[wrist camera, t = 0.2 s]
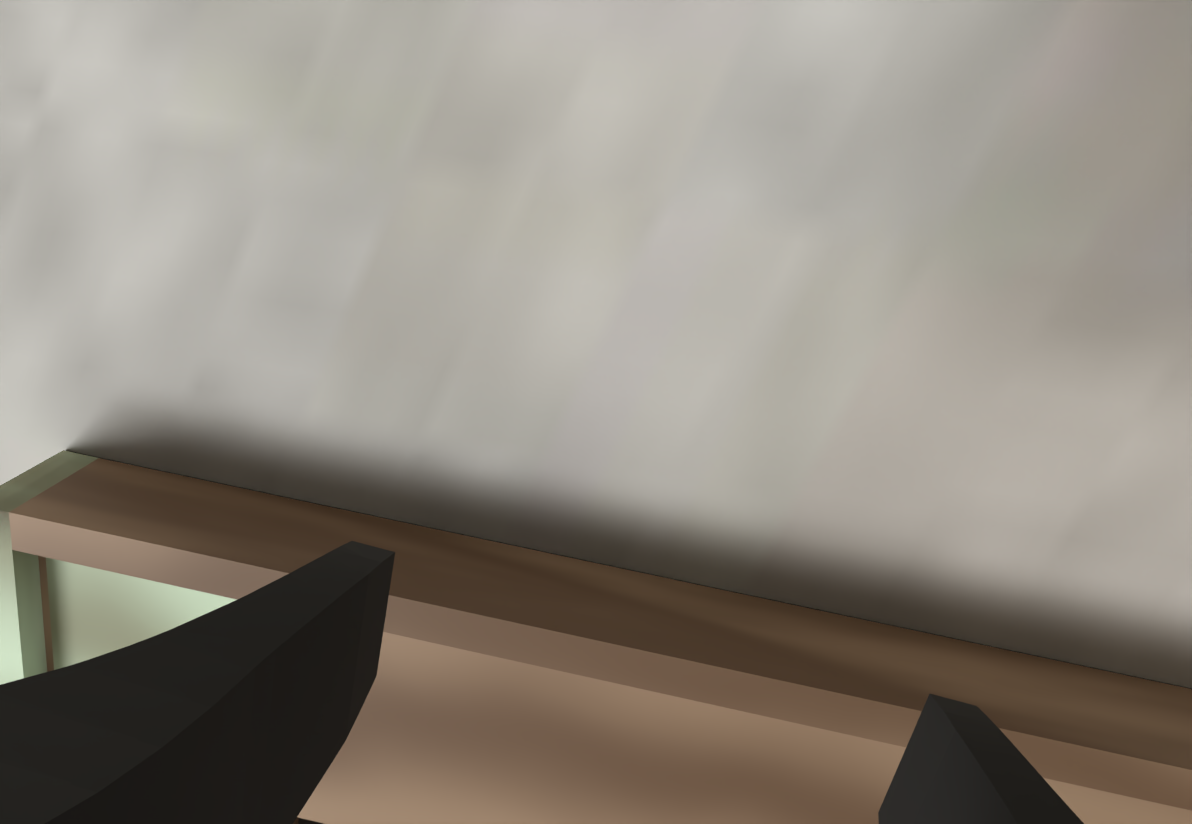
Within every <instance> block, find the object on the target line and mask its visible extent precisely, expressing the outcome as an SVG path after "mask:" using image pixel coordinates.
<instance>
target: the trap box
mask: <svg viewBox="0 0 1192 824" xmlns="http://www.w3.org/2000/svg"><path fill="white" fill-rule="evenodd" d="M350 541H355V542H359V543H363V544H366V545H370V546H374V547H378V548H382V549H385V550H389V551H393V552H395V557H394V564H393V571H392V577H391V584H390V590H389V597H388V604H387V610H386V617H385V623H384V630H383V637H382V643H381V650H380V657H379V663H378V670H377V676H376V678H375V680H374V683H373V685H372V687H371V689H370V691H369V693H368V695H367V698H366V700H365V702H364V704H363V706H362V708H361V710H360V713H359V715H358V717H357V719H356V721H355V723H354V725H353V727H352V729H351V731H350V733H349V735H348V737H347V739H346V741H345V743H344V744H343V746H342V747H341V749H340V751H339V752H338V754H337V755H336V757H335V759H334V760H333V762H332V763H331V765H330V766H329V768H328V770H327V771H326V773H325V774H324V776H323V777H322V779H321V781H320V782H319V784H318V785H317V787H316V788H315V790H314V792H313V793H312V795H311V796H310V798H309V799H308V801H307V802H306V804H305V806H304V807H303V809H302V810H301V812H300V813H299V815H298V816H297V818H296V819H295V821H294V823H293V824H879V820H878V812H879V810H880V807H881V805H882V803H883V800H884V798H885V796H886V793H887V791H888V789H889V786H890V784H891V782H892V779H893V777H894V775H895V772H896V770H897V768H898V765H899V763H900V761H901V759H902V756H903V754H904V752H905V749H906V747H907V745H908V742H909V740H910V738H911V735H912V733H913V731H914V728H915V726H916V724H917V721H918V719H919V717H920V714H921V712H922V710H923V707H924V705H925V703H926V701H927V698H928V696H929V694H934V695H938V696H941V697H945V698H949V699H953V700H956V701H960V702H964V703H968V704H972V705H975V706H977V707H978V708H979V709H980V710H981V711H982V712H983V713H985V714H986V715H987V716H988V717H989V719H990V720H991V721H992V722H993V723H994V724H995V725H996V726H997V727H998V728H999V729H1000V730H1001V731H1002V732H1003V733H1004V735H1005V736H1006V737H1007V738H1008V739H1009V740H1010V741H1011V742H1012V743H1013V745H1014V746H1015V747H1016V748H1017V749H1018V750H1019V751H1020V752H1021V754H1022V755H1023V756H1024V757H1025V758H1026V759H1027V760H1028V761H1029V763H1030V764H1031V765H1032V766H1033V767H1034V768H1035V769H1036V770H1037V772H1038V773H1039V774H1040V775H1041V776H1042V777H1043V778H1044V780H1045V781H1046V782H1047V783H1048V784H1049V785H1050V786H1051V787H1052V789H1053V790H1054V791H1055V792H1056V793H1057V794H1058V795H1059V796H1060V798H1061V799H1062V800H1063V801H1064V802H1065V803H1066V804H1067V805H1068V806H1069V808H1070V809H1071V810H1072V811H1073V812H1074V813H1075V814H1076V815H1077V816H1078V817H1079V819H1080V820H1081V821H1082V822H1083V823H1084V824H1192V689H1189V688H1184V687H1179V686H1175V685H1170V684H1165V683H1160V682H1156V681H1151V680H1146V679H1141V678H1137V677H1132V676H1127V675H1123V674H1118V673H1113V672H1108V671H1104V670H1099V669H1094V668H1089V667H1085V666H1080V665H1075V664H1071V663H1066V662H1061V661H1056V660H1052V659H1047V658H1042V657H1037V656H1033V655H1028V654H1023V653H1019V652H1014V651H1009V650H1004V649H1000V648H995V647H990V646H985V645H981V644H976V643H971V642H966V641H962V640H957V639H952V638H948V637H943V636H938V635H933V634H929V633H924V632H919V631H914V630H910V629H905V628H900V627H896V626H891V625H886V624H881V623H877V622H872V621H867V620H862V619H858V618H853V617H848V616H844V615H839V614H834V613H829V612H825V611H820V610H815V609H810V608H806V607H801V606H796V605H792V604H787V603H782V602H777V601H773V600H768V599H763V598H758V597H754V596H749V595H744V594H740V593H735V592H730V591H725V590H721V589H716V588H711V587H706V586H702V585H697V584H692V583H688V582H683V581H678V580H673V579H669V578H664V577H659V576H654V575H650V574H645V573H640V572H636V571H631V570H626V569H621V568H617V567H612V566H607V565H602V564H598V563H593V562H588V561H584V560H579V559H574V558H569V557H565V556H560V555H555V554H550V553H546V552H541V551H536V550H531V549H527V548H522V547H517V546H513V545H508V544H503V543H498V542H494V541H489V540H484V539H479V538H475V537H470V536H465V535H461V534H456V533H451V532H446V531H442V530H437V529H432V528H427V527H423V526H418V525H413V524H409V523H404V522H399V521H394V520H390V519H385V518H380V517H375V516H371V515H366V514H361V513H357V512H352V511H347V510H342V509H338V508H333V507H328V506H323V505H319V504H314V503H309V502H305V501H300V500H295V499H290V498H286V497H281V496H276V495H271V494H267V493H262V492H257V491H253V490H248V489H243V488H238V487H234V486H229V485H224V484H219V483H215V482H210V481H205V480H201V479H196V478H191V477H186V476H182V475H177V474H172V473H167V472H163V471H158V470H153V469H149V468H144V467H139V466H134V465H130V464H125V463H120V462H115V461H111V460H106V459H101V458H96V457H92V456H87V455H82V454H78V453H73V452H68V451H62V452H60V453H58V454H56V455H54V456H53V457H51V458H49V459H47V460H45V461H44V462H42V463H40V464H38V465H36V466H35V467H33V468H31V469H29V470H28V471H26V472H24V473H22V474H20V475H19V476H17V477H15V478H13V479H11V480H10V481H8V482H6V483H4V484H2V485H1V486H0V685H1V684H5V683H8V682H12V681H16V680H19V679H23V678H27V677H30V676H34V675H38V674H41V673H45V672H48V671H52V670H56V669H59V668H63V667H67V666H70V665H73V664H76V663H80V662H83V661H86V660H89V659H92V658H95V657H98V656H101V655H103V654H106V653H109V652H112V651H115V650H118V649H121V648H124V647H127V646H130V645H132V644H135V643H137V642H140V641H143V640H145V639H148V638H151V637H153V636H156V635H158V634H161V633H163V632H166V631H168V630H171V629H173V628H175V627H177V626H180V625H182V624H184V623H186V622H188V621H191V620H193V619H195V618H197V617H200V616H202V615H204V614H206V613H209V612H211V611H213V610H215V609H218V608H220V607H222V606H224V605H227V604H229V603H231V602H233V601H236V600H238V599H240V598H242V597H244V596H246V595H248V594H250V593H252V592H254V591H256V590H258V589H260V588H261V587H263V586H265V585H267V584H269V583H271V582H273V581H275V580H277V579H279V578H281V577H283V576H285V575H287V574H289V573H291V572H293V571H295V570H297V569H298V568H300V567H302V566H304V565H306V564H308V563H310V562H312V561H313V560H315V559H317V558H319V557H321V556H323V555H325V554H327V553H328V552H330V551H332V550H334V549H336V548H338V547H340V546H342V545H344V544H346V543H348V542H350Z"/></svg>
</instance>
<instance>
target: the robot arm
mask: <svg viewBox="0 0 1192 824" xmlns="http://www.w3.org/2000/svg"><path fill="white" fill-rule="evenodd" d="M394 557H395V552H393V551H389V550H385V549H382V548H378V547H374V546H370V545H366V544H363V543H359V542H355V541H350V542H348V543H346V544H344V545H342V546H340V547H338V548H336V549H334V550H332V551H330V552H328V553H327V554H325V555H323V556H321V557H319V558H317V559H315V560H313V561H312V562H310V563H308V564H306V565H304V566H302V567H300V568H298V569H297V570H295V571H293V572H291V573H289V574H287V575H285V576H283V577H281V578H279V579H277V580H275V581H273V582H271V583H269V584H267V585H265V586H263V587H261V588H260V589H258V590H256V591H254V592H252V593H250V594H248V595H246V596H244V597H242V598H240V599H238V600H236V601H233V602H231V603H229V604H227V605H224V606H222V607H220V608H218V609H215V610H213V611H211V612H209V613H206V614H204V615H202V616H200V617H197V618H195V619H193V620H191V621H188V622H186V623H184V624H182V625H180V626H177V627H175V628H173V629H171V630H168V631H166V632H163V633H161V634H158V635H156V636H153V637H151V638H148V639H145V640H143V641H140V642H137V643H135V644H132V645H130V646H127V647H124V648H121V649H118V650H115V651H112V652H109V653H106V654H103V655H101V656H98V657H95V658H92V659H89V660H86V661H83V662H80V663H76V664H73V665H70V666H67V667H63V668H59V669H56V670H52V671H48V672H45V673H41V674H38V675H34V676H30V677H27V678H23V679H19V680H16V681H12V682H8V683H5V684H1V685H0V824H293V823H294V821H295V819H296V818H297V816H298V815H299V813H300V812H301V810H302V809H303V807H304V806H305V804H306V802H307V801H308V799H309V798H310V796H311V795H312V793H313V792H314V790H315V788H316V787H317V785H318V784H319V782H320V781H321V779H322V777H323V776H324V774H325V773H326V771H327V770H328V768H329V766H330V765H331V763H332V762H333V760H334V759H335V757H336V755H337V754H338V752H339V751H340V749H341V747H342V746H343V744H344V743H345V741H346V739H347V737H348V735H349V733H350V731H351V729H352V727H353V725H354V723H355V721H356V719H357V717H358V715H359V713H360V710H361V708H362V706H363V704H364V702H365V700H366V698H367V695H368V693H369V691H370V689H371V687H372V685H373V683H374V680H375V678H376V676H377V670H378V663H379V657H380V650H381V643H382V637H383V630H384V623H385V617H386V610H387V604H388V597H389V590H390V584H391V577H392V571H393V564H394ZM878 820H879V824H1084V823H1083V822H1082V821H1081V820H1080V819H1079V817H1078V816H1077V815H1076V814H1075V813H1074V812H1073V811H1072V810H1071V809H1070V808H1069V806H1068V805H1067V804H1066V803H1065V802H1064V801H1063V800H1062V799H1061V798H1060V796H1059V795H1058V794H1057V793H1056V792H1055V791H1054V790H1053V789H1052V787H1051V786H1050V785H1049V784H1048V783H1047V782H1046V781H1045V780H1044V778H1043V777H1042V776H1041V775H1040V774H1039V773H1038V772H1037V770H1036V769H1035V768H1034V767H1033V766H1032V765H1031V764H1030V763H1029V761H1028V760H1027V759H1026V758H1025V757H1024V756H1023V755H1022V754H1021V752H1020V751H1019V750H1018V749H1017V748H1016V747H1015V746H1014V745H1013V743H1012V742H1011V741H1010V740H1009V739H1008V738H1007V737H1006V736H1005V735H1004V733H1003V732H1002V731H1001V730H1000V729H999V728H998V727H997V726H996V725H995V724H994V723H993V722H992V721H991V720H990V719H989V717H988V716H987V715H986V714H985V713H983V712H982V711H981V710H980V709H979V708H978V707H977V706H975V705H972V704H968V703H964V702H960V701H956V700H953V699H949V698H945V697H941V696H938V695H934V694H929V696H928V698H927V701H926V703H925V705H924V707H923V710H922V712H921V714H920V717H919V719H918V721H917V724H916V726H915V728H914V731H913V733H912V735H911V738H910V740H909V742H908V745H907V747H906V749H905V752H904V754H903V756H902V759H901V761H900V763H899V765H898V768H897V770H896V772H895V775H894V777H893V779H892V782H891V784H890V786H889V789H888V791H887V793H886V796H885V798H884V800H883V803H882V805H881V807H880V810H879V812H878Z"/></svg>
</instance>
